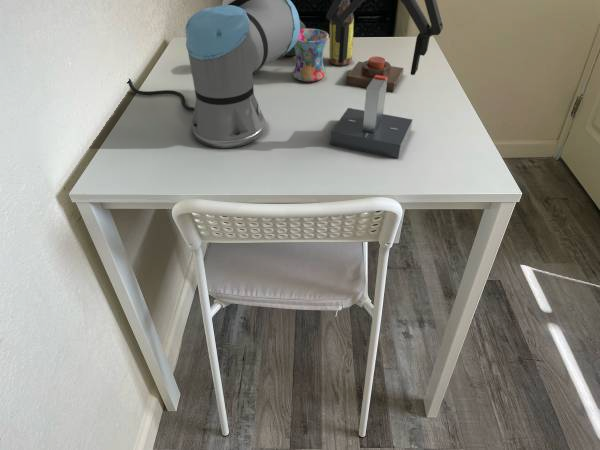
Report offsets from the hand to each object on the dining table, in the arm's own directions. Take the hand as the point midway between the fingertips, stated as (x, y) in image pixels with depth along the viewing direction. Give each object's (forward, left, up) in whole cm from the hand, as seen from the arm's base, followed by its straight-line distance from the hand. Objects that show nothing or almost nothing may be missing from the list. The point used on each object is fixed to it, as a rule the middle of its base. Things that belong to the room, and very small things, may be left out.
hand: (377, 66), depth 85 cm
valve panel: (0, 0, -15) cm, 15 cm away
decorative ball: (-34, +36, -15) cm, 52 cm away
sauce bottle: (-19, +36, -15) cm, 43 cm away
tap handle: (0, 0, -12) cm, 12 cm away
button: (-7, +28, -12) cm, 31 cm away
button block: (-7, +28, -15) cm, 32 cm away
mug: (-23, +25, -15) cm, 37 cm away
